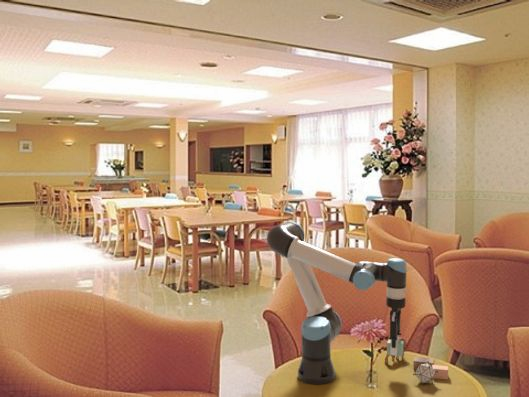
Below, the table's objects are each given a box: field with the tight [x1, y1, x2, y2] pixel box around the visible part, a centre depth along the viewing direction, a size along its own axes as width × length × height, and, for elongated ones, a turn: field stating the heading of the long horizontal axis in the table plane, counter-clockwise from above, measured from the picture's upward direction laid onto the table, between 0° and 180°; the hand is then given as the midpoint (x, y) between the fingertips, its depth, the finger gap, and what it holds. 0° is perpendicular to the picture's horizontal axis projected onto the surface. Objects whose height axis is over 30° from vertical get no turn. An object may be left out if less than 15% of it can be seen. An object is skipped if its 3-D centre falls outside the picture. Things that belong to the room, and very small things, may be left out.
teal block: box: [386, 339, 404, 358], centre depth 216 cm, size 6×4×5 cm, turn 68°
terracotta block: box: [432, 364, 449, 380], centre depth 214 cm, size 6×4×4 cm, turn 73°
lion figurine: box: [384, 336, 407, 366], centre depth 230 cm, size 15×5×9 cm, turn 138°
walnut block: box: [412, 356, 435, 371], centre depth 222 cm, size 8×5×4 cm, turn 68°
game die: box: [412, 361, 438, 386], centre depth 208 cm, size 9×8×10 cm
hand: (394, 352), depth 216 cm, fingers closed on teal block, 4 cm apart
